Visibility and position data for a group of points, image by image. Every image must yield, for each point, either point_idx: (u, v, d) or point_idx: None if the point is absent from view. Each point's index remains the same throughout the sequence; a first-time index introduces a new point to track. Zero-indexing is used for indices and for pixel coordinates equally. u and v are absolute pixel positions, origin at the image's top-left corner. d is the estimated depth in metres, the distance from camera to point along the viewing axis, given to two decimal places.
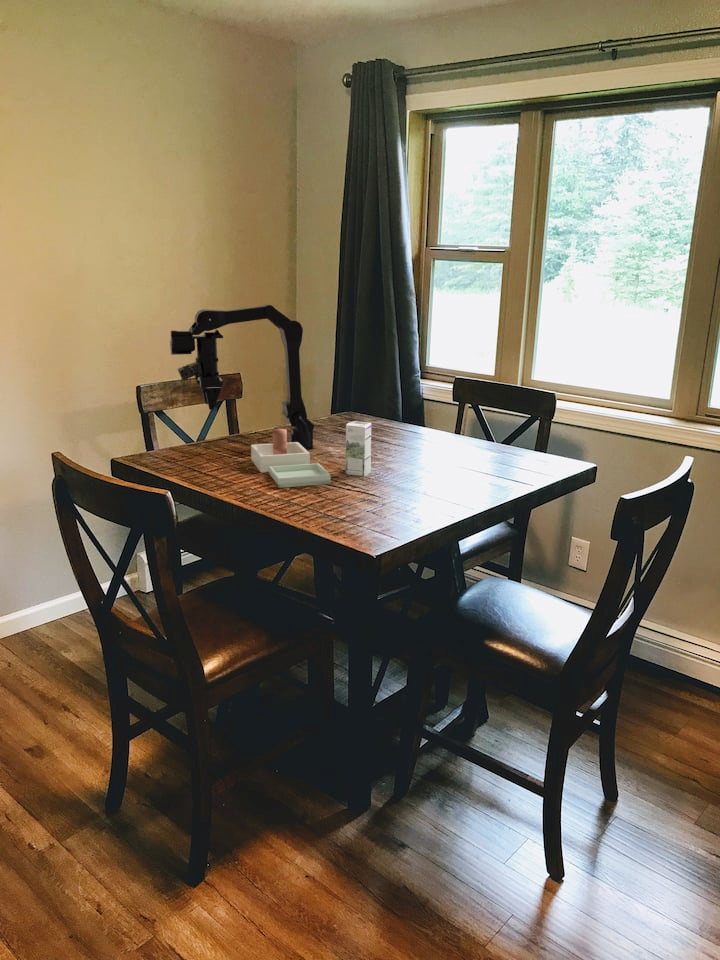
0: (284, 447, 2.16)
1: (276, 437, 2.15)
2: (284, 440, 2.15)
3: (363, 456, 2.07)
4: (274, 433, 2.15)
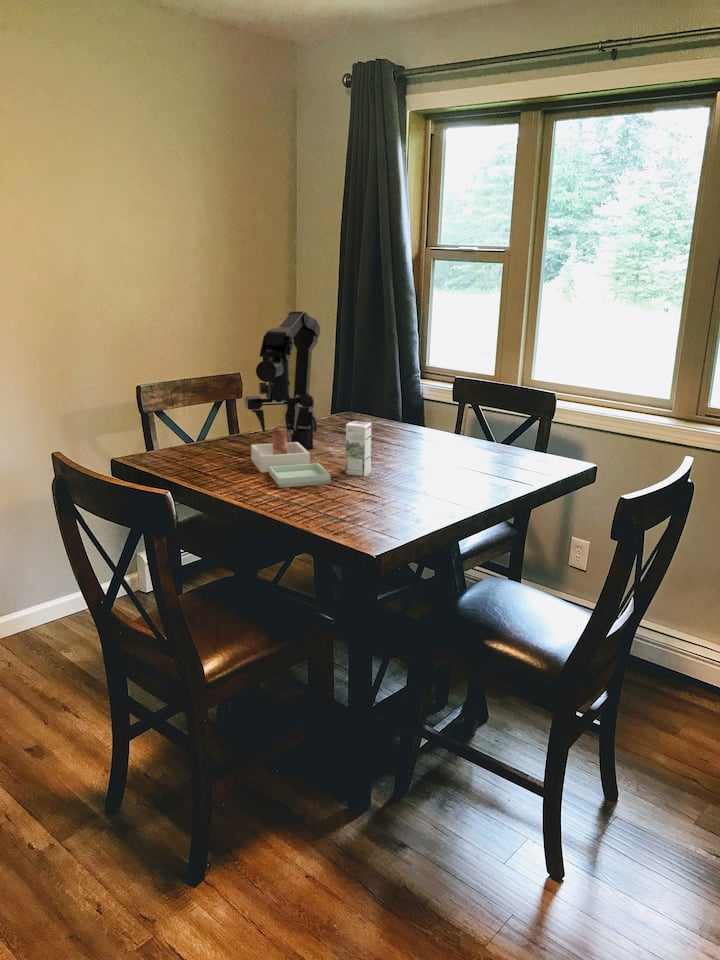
0: (284, 447, 2.16)
1: (276, 437, 2.15)
2: (284, 440, 2.15)
3: (363, 456, 2.07)
4: (274, 433, 2.15)
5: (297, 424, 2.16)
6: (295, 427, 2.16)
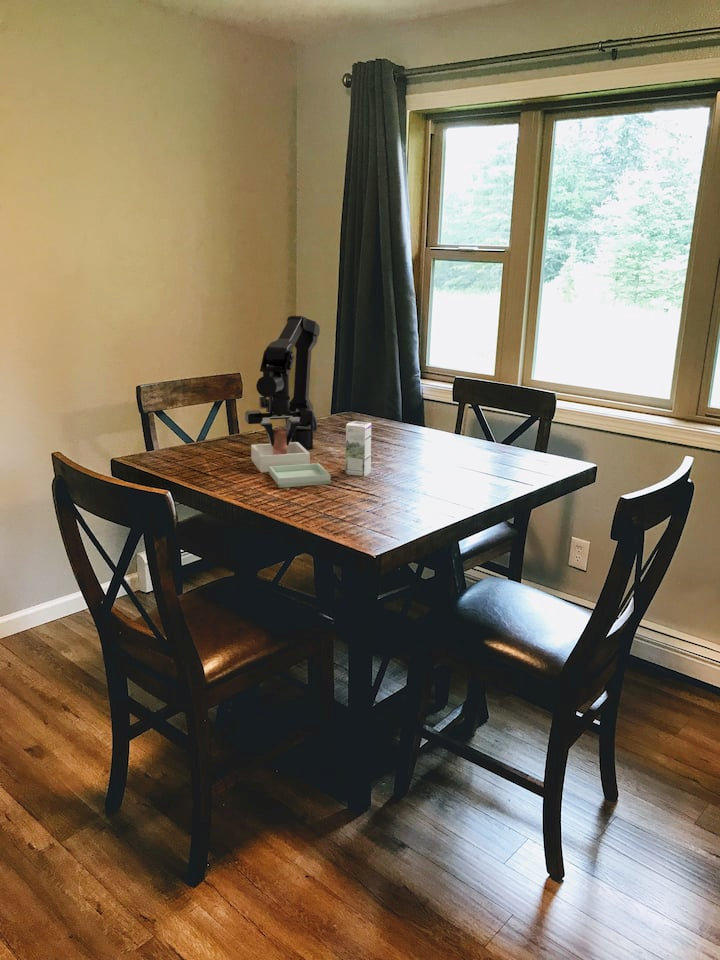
0: (284, 447, 2.16)
1: (276, 437, 2.15)
2: (284, 440, 2.15)
3: (363, 456, 2.07)
4: (274, 433, 2.15)
5: (289, 439, 2.16)
6: (287, 442, 2.17)
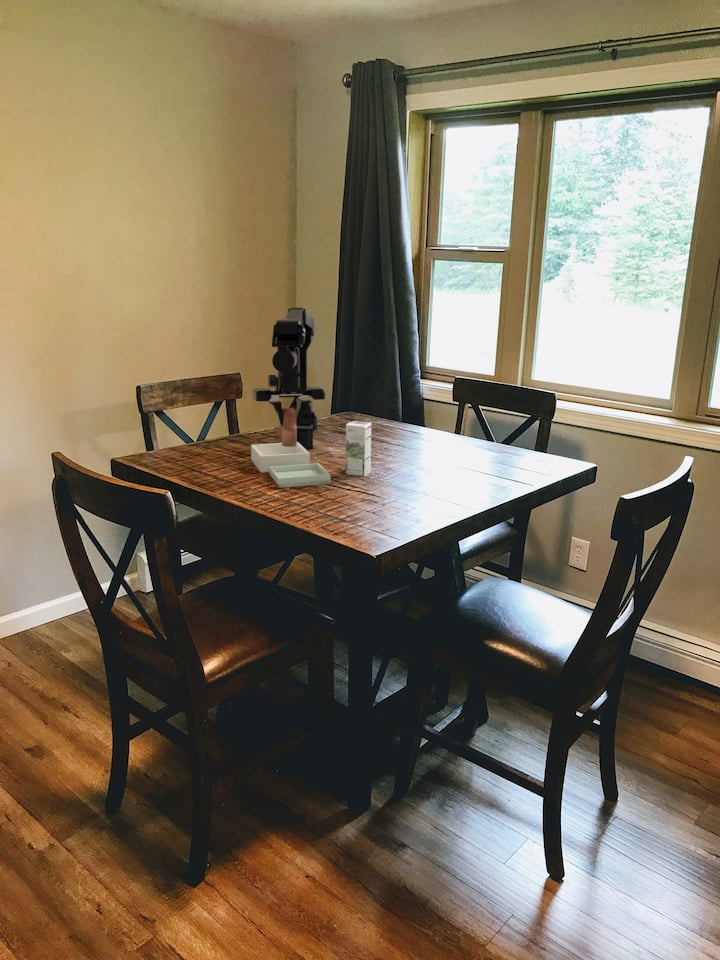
0: (293, 426, 2.06)
1: (285, 416, 2.05)
2: (294, 419, 2.05)
3: (363, 456, 2.07)
4: (283, 412, 2.05)
5: (299, 418, 2.06)
6: (297, 421, 2.07)
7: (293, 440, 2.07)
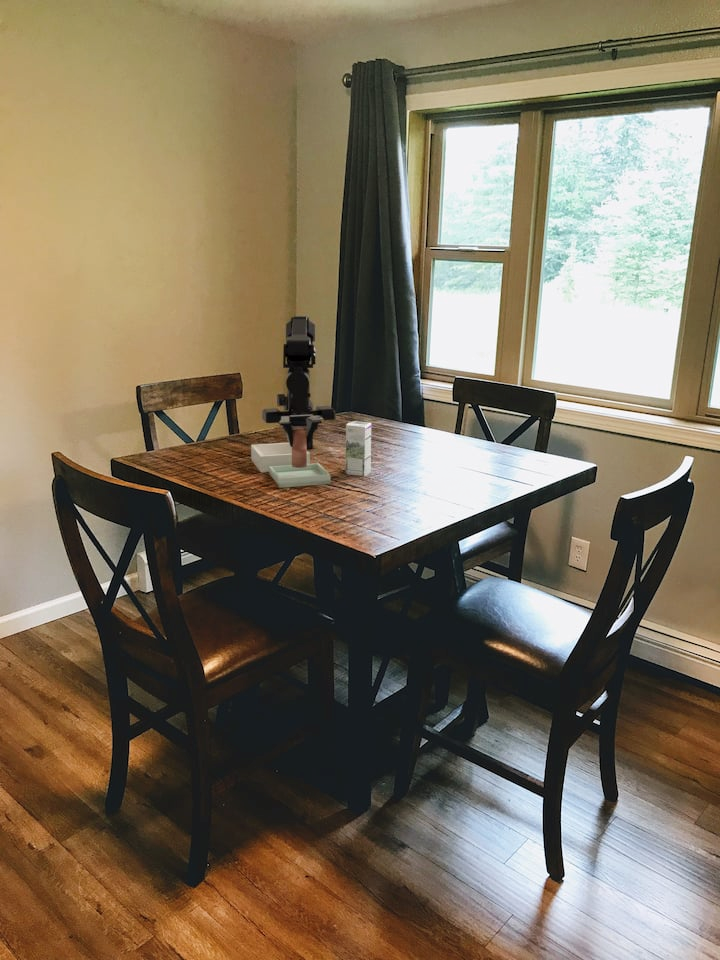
0: (303, 447, 2.02)
1: (295, 437, 2.01)
2: (304, 440, 2.01)
3: (363, 456, 2.07)
4: (293, 433, 2.01)
5: (309, 439, 2.02)
6: (307, 442, 2.03)
7: (303, 460, 2.03)
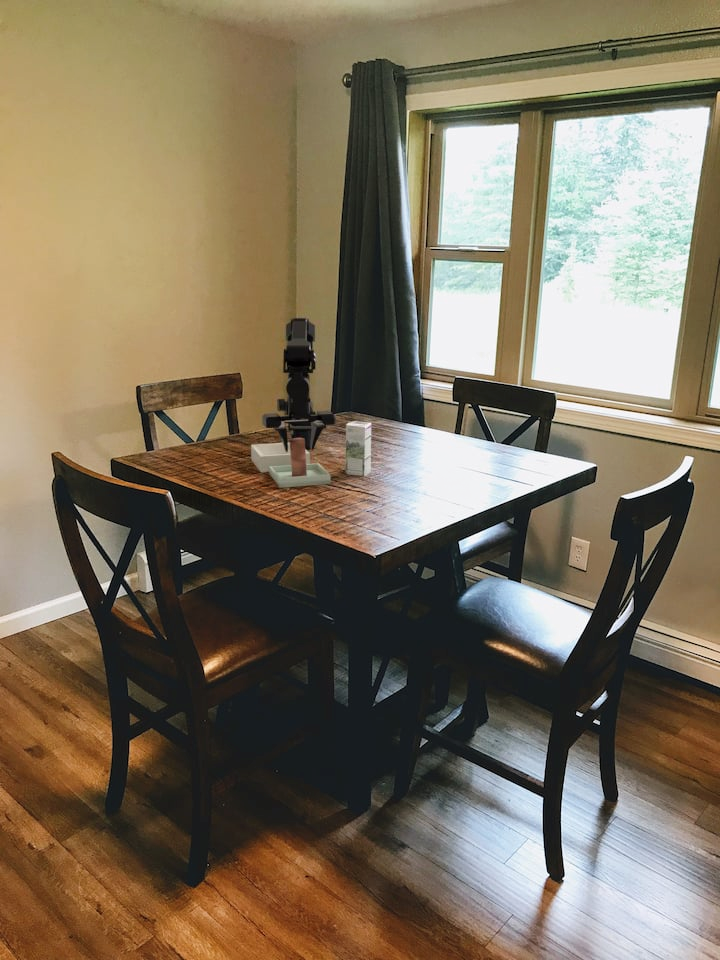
0: (302, 457, 2.02)
1: (294, 448, 2.01)
2: (302, 450, 2.02)
3: (363, 456, 2.07)
4: (291, 443, 2.01)
5: (314, 443, 2.03)
6: (311, 446, 2.03)
7: (303, 470, 2.03)
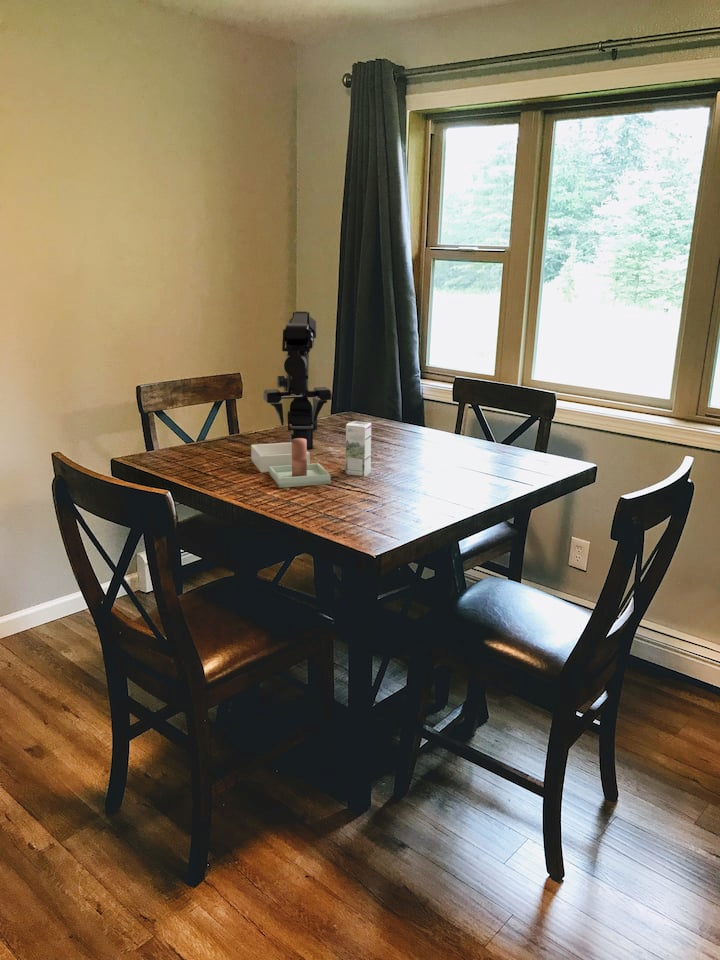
0: (304, 457, 2.02)
1: (295, 448, 2.01)
2: (304, 450, 2.02)
3: (363, 456, 2.07)
4: (293, 443, 2.01)
5: (315, 417, 2.18)
6: (313, 420, 2.19)
7: (304, 471, 2.04)
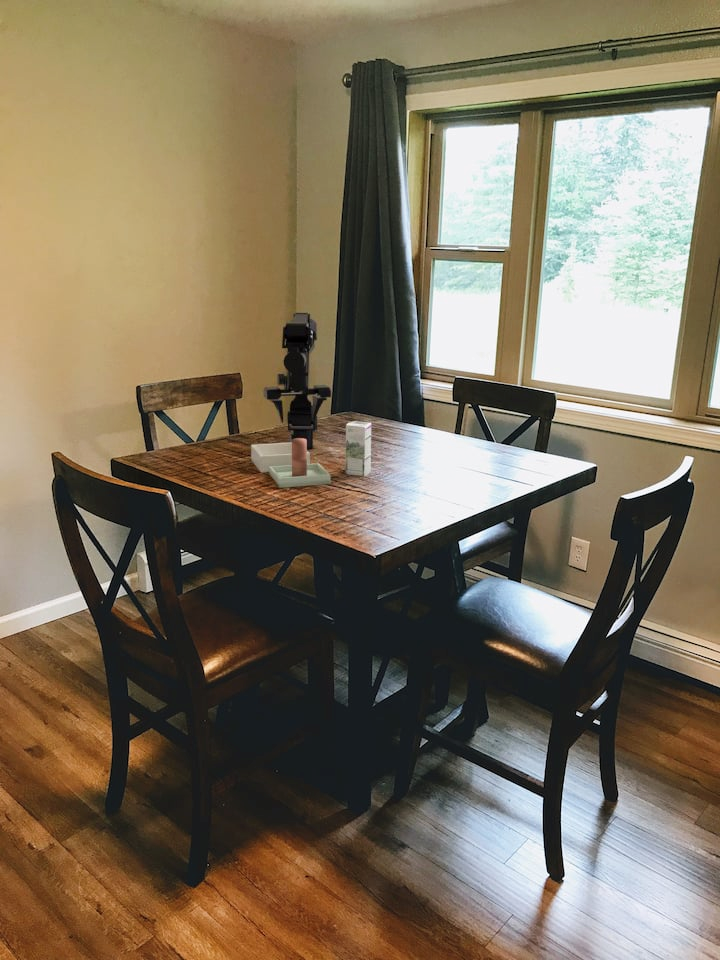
0: (304, 457, 2.03)
1: (295, 448, 2.01)
2: (304, 450, 2.02)
3: (363, 456, 2.07)
4: (293, 443, 2.01)
5: (315, 414, 2.20)
6: (313, 417, 2.20)
7: (304, 471, 2.04)
